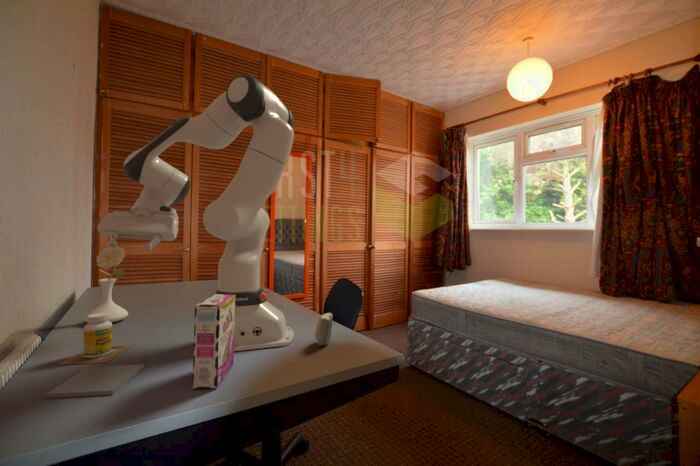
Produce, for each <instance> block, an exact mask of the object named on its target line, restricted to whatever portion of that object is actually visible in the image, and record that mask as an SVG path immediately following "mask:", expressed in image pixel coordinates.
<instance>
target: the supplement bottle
mask: <svg viewBox="0 0 700 466" xmlns="http://www.w3.org/2000/svg"><path fill="white" fill-rule="evenodd" d="M108 319H109V313H96V314H91V315H89V316H88V317H87V321H88V323H87V324H85V325H84V327H83V351H84V357H86V358H97V357H101V356H105V355H107V354H109V353H110V352H111V351H112V346H113V322H110V321H107V320H108Z"/></svg>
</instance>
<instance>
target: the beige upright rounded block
mask: <svg viewBox="0 0 700 466" xmlns="http://www.w3.org/2000/svg"><path fill="white" fill-rule="evenodd" d="M333 317H334V316H333V313H331V312H326V313H324V314H322V315H321V316H320V317H319V319H318V322H317V324H316V328H315V332H314V337H315V340H316V345H317V346H318V347H321V348H326V347H327V346H328V345H329V343H330V342H331V337H332V327H333Z"/></svg>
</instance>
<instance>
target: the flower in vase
mask: <svg viewBox="0 0 700 466" xmlns="http://www.w3.org/2000/svg"><path fill="white" fill-rule="evenodd" d="M125 254H126V253H125V249H123V248H122V247H119V246H118V245H116V247H109V246H107V248H103V249H102V251H99V253H98V255H97V256H96V266H97V267H100V268H99V269H98V271H100V272H101V273H102V274H106V275H108V276H109V277H108V278H102V279H101V278H100V279H97V282H98V283H99V284H100V286H101V289H102V300H101V302H100V304H98V305H97V306H96V307H95V308H94V309H92V310H91V311H90V312H88V313H87V314H86V315H85V316H84V318H83V321H84V322H85V323H87V324H89V323H88V321H87V317H88V316H89V315H91V314H96V313H109V319H108V320H107V321H110V322H111V323H114V322H118V321H121V320H123V319H125V318H127V317H128V316H129V312H128V311H127V310H126V309H125V308H124V307H121V306H120V305H118V304H116V303H115V302H114V301H113V298H112V295H113V294H112V293H113V292H112V291H113V287H114V285H115V283H116V282H117V280H118V279H117V278H114V277H113V275H115V277H122V276H126V273H125V271H124V270H123V269H121V268H119V269H117V267H116V266H118V265H120V264H121V262H123V259H124V258H125V257H126V255H125ZM101 268H103V269H105V270H107V269H111V268H114V270H113V272H112V273H111V274H110V273H108V272H106V271H104V270H102V269H101ZM112 277H113V278H112Z"/></svg>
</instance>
